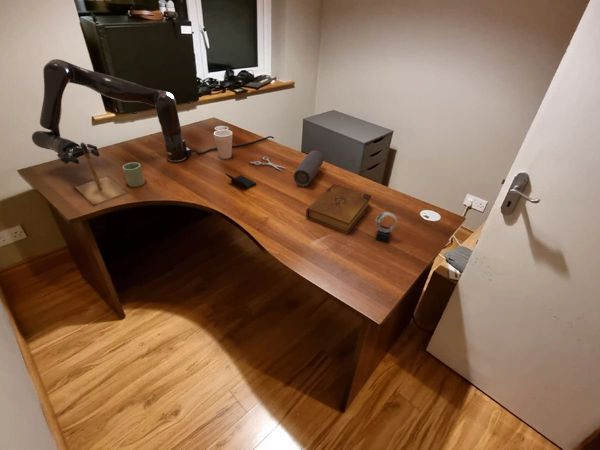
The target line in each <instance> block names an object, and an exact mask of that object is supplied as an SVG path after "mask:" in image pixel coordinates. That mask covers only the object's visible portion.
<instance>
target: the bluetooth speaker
mask: <svg viewBox="0 0 600 450" xmlns="http://www.w3.org/2000/svg"><path fill="white" fill-rule="evenodd" d="M324 157H325V156H324V155H323V153H322V152H321V151H319V150H317V149H313V150H312V151H310V152H309V153H308V154H307V155H306V156H305V157H304V158H303V159H302V161H301V162H300V163H299V165H298V166H297V168H296V169H295V171H294V174H293V180H294V182H295V183H296V184H297V185H299V186H301V187H305V186H308V185H309V184H310V183H311V182H312V181H313V179H314V178H315V177H316V175H317V174H318V173H319V171H320V169H321V167H322V165H323V164H324V160H325V158H324Z"/></svg>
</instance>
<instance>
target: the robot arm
mask: <svg viewBox="0 0 600 450" xmlns="http://www.w3.org/2000/svg"><path fill="white" fill-rule="evenodd" d="M42 73H43V100H42V105H41V111H40V115H39V116H40V117H39V125H40V126H41V127H42V128H43V129H46V130H36V131H34V132H33V133H32V135H31V140H32V143H33V144H34V145H35V146H37V147H38V148H41V149H45V150H49V151H53V152H55V153H57V154H56V156H57V158H58V160H59V161H60V162H62V163H63V164H66V165H67V164H69V163H73V164H77V165H79V164H80V161H79V159H78V158H80V157H85V155H84V153H83V151H82V148H81V146H80V144H79V143H77V142H75V141H73V140H71V139H68V138H64V137H63V136H62V135H61V129H60V125H61V120H62V119H61V118H62V112H63V111H62V109H63V108H62V101H63V97H64V93H65V90H66V87H67V85H68V84H69V83H70V84H74V85H79V86H83V87H86V88H88V89H90V90H93V91H94V92H96V93H98V94H100V95H102V96H103V97H106V98H110V99H113V100H115V101H121V102H127V103H142V104H148V105H150V106H153V107H155V111H156V116H157V120H158V123H159V126H160V131H161V134H162V138H163V143H164V147H165V152H166V155H167V160H168V162H171V163H180V162H184V161H186V160H187V159H188V158H189V156H192V152H194V153H196V154H198V155H203V154H207V153H208V152H211V151H216V150H218V149H217V147H213V148H208V149H207V150H204V151H198V150H195V149H191V148H189V147H187V144H186V141H185V139H184V137H183V133H182V128H181V122H180V117H179V113H178V108H177V100H176V98H175V96H174V95H173V94H172V93H171V92H168V91H165V90H161V89H155V88H151V87H147V86H143V85H140V84H138V83H135V82H133V81H132V82H131V81H128V80H125V79H123V78H120V77H115V76H113V75H108V74H105V73H102V72H98V71H94V70H90V69H86V68H84V67H80V66H78V65H75V64H74V63H71V62H68V61H65V60H62V59H57V58H54V59H51V60H49V61H47V63H45V65H44V66H43V71H42ZM268 139H273V140H274V139H275V137H274V136H273V135H268V136H266V137H262V138H259V139H257V140H253V141H249V142H245V143H241V144H236V145H232V148H238V147H243V146H248V145H251V144H255V143H258V142H261V141H265V140H268ZM86 146H87V149H88V152H89V155H90V156H91V155H93V156H94V157H97V158H98V157H100V152H99V150H98V147H97V146H96V145H93V144H91V143H86Z"/></svg>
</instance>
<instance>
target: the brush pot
mask: <svg viewBox="0 0 600 450" xmlns="http://www.w3.org/2000/svg"><path fill="white" fill-rule="evenodd" d="M122 171H123V174H124V177H125V180H126V183H127V186H128V187H133V188H134V187H141V186H142V185H144V184H145V183H146V179H145V176H144V172H143V169H142V165H141V163H139V162H136V161H134V162H133V161H132V162H127V163H125V164H124V165H122Z"/></svg>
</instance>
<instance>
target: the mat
mask: <svg viewBox="0 0 600 450" xmlns="http://www.w3.org/2000/svg"><path fill="white" fill-rule="evenodd" d="M98 179H99V181H100V184H101V187H102V190H99V189H98V187H97V184H96V182H95V180H92V181H89V182H86V183H83V184H80V185H77V186H75V189H76V190H77V191H78V192H79V193H80V194H81V195H82V196H83V197H84V198H85V199H86V200H87V201H88V202H89V203H90V204H91V205H92V206H96V205H97V204H99V203H102V202H104V201H106V200H110V199H113V198H115V197H117V196H120V195H123V194H126V193H127V191H125V189H123V188H122V187H121V186H120V185H119V184H117V183H116V182H115V181H113V179H111V178H110V177H109V176H104V177H101V178H98Z"/></svg>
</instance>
